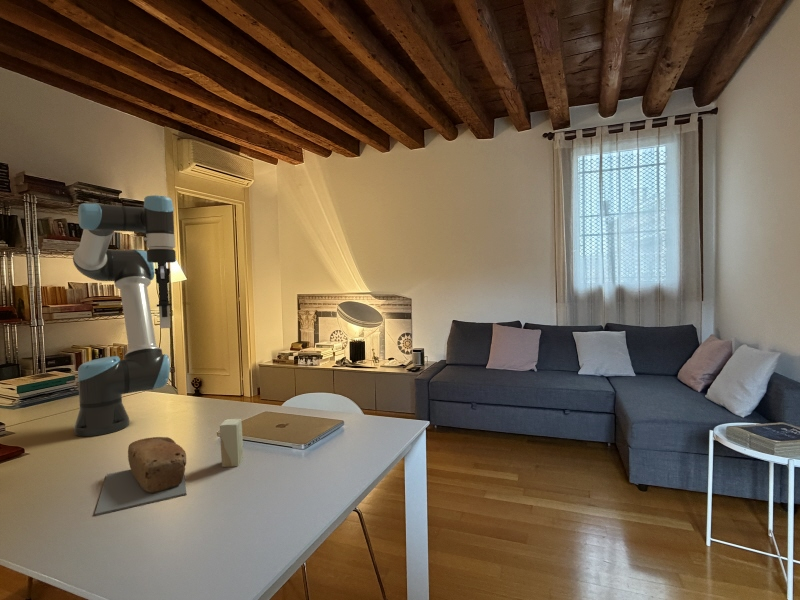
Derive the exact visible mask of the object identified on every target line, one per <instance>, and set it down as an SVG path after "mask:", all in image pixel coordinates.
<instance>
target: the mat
mask: <svg viewBox="0 0 800 600" xmlns="http://www.w3.org/2000/svg"><path fill="white" fill-rule="evenodd" d="M187 494H188V493H187V486H186V477H185V474H184V476H183V480H182V482H181V483H180V484H179V485H177V486H175V487H172V488H169V489H165V490H162V491H159V492H154V493H150V492H147V491H145V490H144V489H143V488H142V487H141V486H140V485H139V483H138V482H137V480H136V479H135V477H134V476H133V474H132V471H131V468H130V469H125V470H121V471H115V472H112V473H107V474H106V475H105V479H104V482H103V486H102V489H101V492H100V495H99V499H98V502H97V506H96V509H95V511H94V517H96V516H99V515H104V514H105V515H106V514H109V513H112V512H117V511H122V510H126V509H131V508H134V507H138V506H144V505H148V504H152V503H157V502H160V501H165V500H166V501H167V500H171V499H173V498H178V497H183V496H187Z"/></svg>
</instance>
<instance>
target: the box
mask: <svg viewBox="0 0 800 600" xmlns="http://www.w3.org/2000/svg"><path fill="white" fill-rule="evenodd" d="M242 425H243V424H242V418H230V419H229V418H228V419H225V420H223V422H221V423H220V425H219V433H220V434H219V435H220V438H219V439H220V453H221V455H220V456H221V468H226V467H227V468H231V467H239V466H240V465H241V463H242V461H243V460H244V445H243V426H242Z"/></svg>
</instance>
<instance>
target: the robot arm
mask: <svg viewBox="0 0 800 600" xmlns="http://www.w3.org/2000/svg"><path fill="white" fill-rule="evenodd" d="M143 200H144V201H143V207H142V206H141V207H140V206H129V205H128V206H127V205H126V206H125V205H112V204H101V203H100V204H99V203H96V202H95V203H80V204H79V205H78V212H77V215H78V216H77V218H78V220H77V221H78V225H79V227H80V228H81V229H82V235H81V239H80V242H79V246H78V247H77V248H76V249H75V250H74V251H73V256H72V262H73V265H74V267H75V269H77V270H78V271H79V272H80V274H82V275H84V276H85V277H87V278H89V279H91V280H95V281H99V282H114V287H115V288H116V289H118V290H119V291H120V297H121V303H122V311H123V318H124V325H125V332H126V339H127V346H128V351H127V352H126V353H125V354H124V359H121V358H120V357H119V356H118V355H112V356H105V357H100V358H95V359H92V360H88V361H86V362H84V363H81V364H80V365H79V366H78V368H77V379H76V380H77V382H78V396H79V397H78V398H79V400H78V401H79V411H78V415H77V418H76V421H75V423H74V435H75V436H79V437H94V436H102V435H106V434H110V433H114V432H118V431H121V430H124V429H125V428H127V427H128V426H129V425H130V418H129V415H128V413H127V410H126V408H125V406H124V405H123V398H122V396H123V395H125V394H131V393H137V392H144V391H150V390H151V391H152V390H156V389H161V388H163V387H165V386H167V384H168V382H169V378H170V372H171V371H170V370H171V365H170V364H171V363H170V357H169V354H166V353H164V354H163V350H162V347H159V346H158V345H157V342H156V336H155V330H154V329H155V328H154V323H153V317H152V310H151V304H150V297H149V293H148V287H149V286H150V285H151V283H152V282H151V281H153V280H154V277H155V282H156V284H157V285H158V304H156V307H158V312H159V313H158V314H159V315H158V316H159V329H171V312H170V311H171V310H170V307H171V306H172V303H170V300H169V299H170V298H169V283H170V275H171V274H170V273H171V271H170V267H167V263H169V264H170V263H176V261H177V257H176V255H177V254H176V250H175V248H176V237H175V236H176V235H175V220H174V219H175V218H174V211H175V208H174V204H173V203H174V202H173V199H171V198H170V196H165V195H157V194H155V195H152V194H151V195H147V196H145V197H144V199H143ZM114 232H129V233H130V232H133V233H143V234H145V236H146V237H143V241H145V243H146V248H147V250H146V251H145V250H140V249H139V250H138V249H109V245H110V243H111V240H112V238H113V234H114ZM155 263H157V268H155V266H154V264H155Z"/></svg>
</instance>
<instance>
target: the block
mask: <svg viewBox="0 0 800 600" xmlns="http://www.w3.org/2000/svg"><path fill="white" fill-rule="evenodd" d="M127 449H128V450H127V457H128V458H127V460H128V465H129V468H130V469H131V471H132V474H133V476H134V477H135V479H136V480H137V482H138V483H139V485H140V486H141V487H142V488H143V489H144V490H145V491H147V492H150V493H154V492H159V491H162V490H165V489H169V488H172V487H175V486H177V485H179V484H180V483H181V482H182V480H183V476H184V475H185V474H186V473H185V472H186V466H187V453H186V451H185V449H183V447H182V446H180V445H179V444H177V443H176V441H175V440H173V439H172V438H171V437H169V436H154V437H146V438H140V439H138V440H134V441H132V442H131V443H129V444H128V447H127Z"/></svg>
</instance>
